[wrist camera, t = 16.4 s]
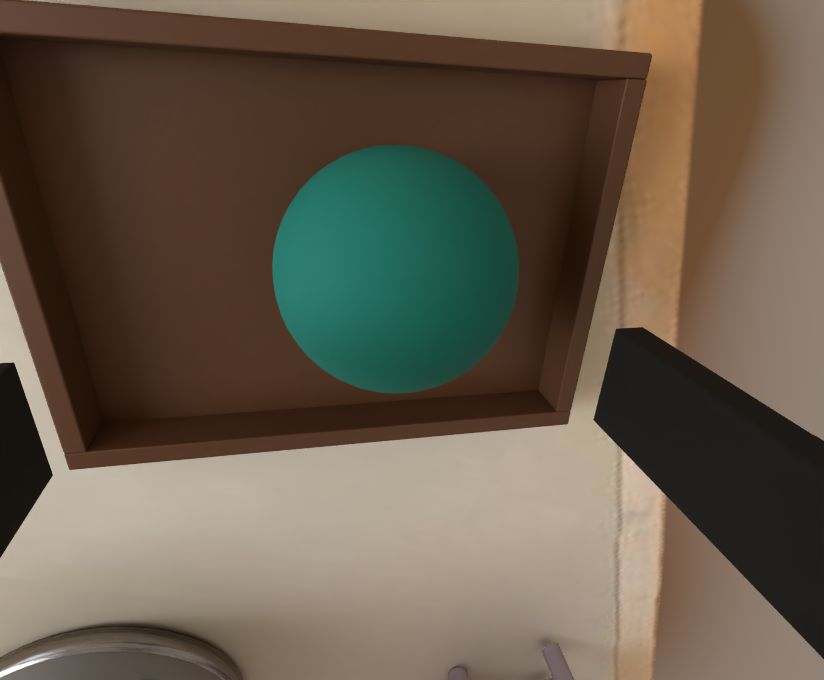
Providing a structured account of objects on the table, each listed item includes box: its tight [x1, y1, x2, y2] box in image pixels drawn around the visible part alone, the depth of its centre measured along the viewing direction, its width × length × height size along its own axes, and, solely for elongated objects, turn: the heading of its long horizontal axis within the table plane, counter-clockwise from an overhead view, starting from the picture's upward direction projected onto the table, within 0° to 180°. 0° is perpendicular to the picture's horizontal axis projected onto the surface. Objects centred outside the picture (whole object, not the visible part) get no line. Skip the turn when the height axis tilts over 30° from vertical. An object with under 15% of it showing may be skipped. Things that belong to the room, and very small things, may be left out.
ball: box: [272, 144, 519, 394], centre depth 16 cm, size 8×8×8 cm
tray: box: [0, 0, 652, 470], centre depth 19 cm, size 16×22×3 cm
